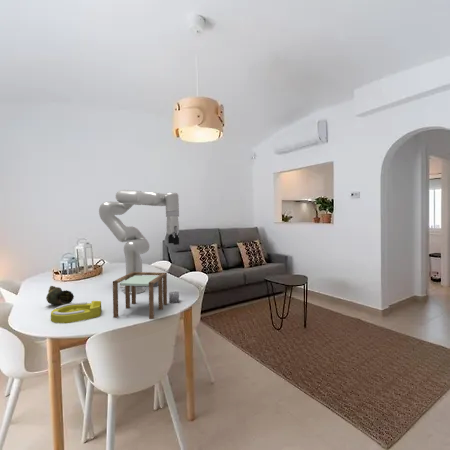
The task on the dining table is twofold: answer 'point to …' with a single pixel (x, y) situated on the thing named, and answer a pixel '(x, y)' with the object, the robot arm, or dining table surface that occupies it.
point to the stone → (174, 297)
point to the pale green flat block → (139, 281)
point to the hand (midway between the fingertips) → (173, 243)
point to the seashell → (59, 296)
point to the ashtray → (76, 312)
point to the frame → (161, 293)
